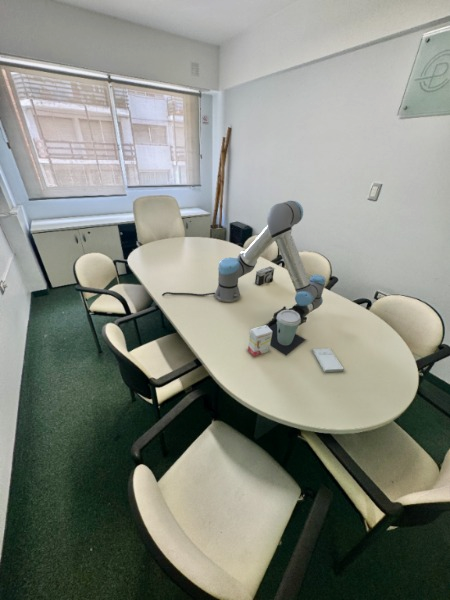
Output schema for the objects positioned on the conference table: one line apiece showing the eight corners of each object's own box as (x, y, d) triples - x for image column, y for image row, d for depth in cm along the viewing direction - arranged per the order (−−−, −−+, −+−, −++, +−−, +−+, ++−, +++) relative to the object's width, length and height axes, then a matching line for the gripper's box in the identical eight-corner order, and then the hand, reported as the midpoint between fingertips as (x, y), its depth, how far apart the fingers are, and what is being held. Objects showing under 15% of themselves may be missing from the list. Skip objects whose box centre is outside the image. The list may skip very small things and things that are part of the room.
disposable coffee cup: (282, 351, 108) (288, 324, 100) (267, 337, 116) (272, 311, 108) (300, 344, 113) (306, 317, 105) (284, 331, 121) (289, 305, 113)
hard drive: (324, 372, 99) (312, 351, 110) (343, 371, 100) (329, 350, 110) (325, 369, 98) (313, 348, 109) (344, 368, 99) (330, 347, 109)
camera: (263, 288, 160) (265, 274, 155) (254, 283, 165) (255, 270, 160) (277, 282, 168) (279, 269, 163) (268, 278, 173) (269, 265, 168)
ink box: (253, 357, 105) (256, 336, 99) (247, 350, 109) (249, 329, 103) (269, 351, 108) (273, 330, 102) (263, 344, 112) (266, 324, 106)
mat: (252, 333, 119) (252, 333, 119) (272, 321, 128) (272, 320, 128) (286, 355, 107) (286, 354, 106) (305, 340, 116) (305, 339, 116)
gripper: (316, 323, 120) (289, 343, 106) (286, 308, 131) (258, 324, 117) (319, 310, 116) (292, 330, 102) (288, 296, 127) (260, 312, 114)
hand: (274, 327), depth 110 cm, fingers open, 5 cm apart
